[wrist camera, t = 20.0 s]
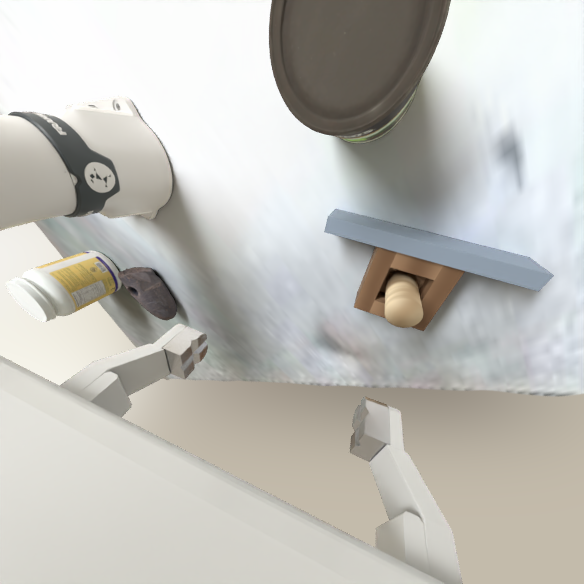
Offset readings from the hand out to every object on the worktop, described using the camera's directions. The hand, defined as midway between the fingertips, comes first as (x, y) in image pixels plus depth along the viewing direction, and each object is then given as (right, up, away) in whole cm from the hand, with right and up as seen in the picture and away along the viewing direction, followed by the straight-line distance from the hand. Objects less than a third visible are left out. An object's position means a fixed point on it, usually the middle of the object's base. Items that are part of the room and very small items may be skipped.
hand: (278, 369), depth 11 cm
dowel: (+16, +5, +21) cm, 27 cm away
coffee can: (+9, +26, +13) cm, 31 cm away
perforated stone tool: (-31, +5, +45) cm, 55 cm away
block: (+17, +6, +22) cm, 29 cm away
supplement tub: (-50, +10, +50) cm, 72 cm away
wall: (+18, +11, +19) cm, 28 cm away
